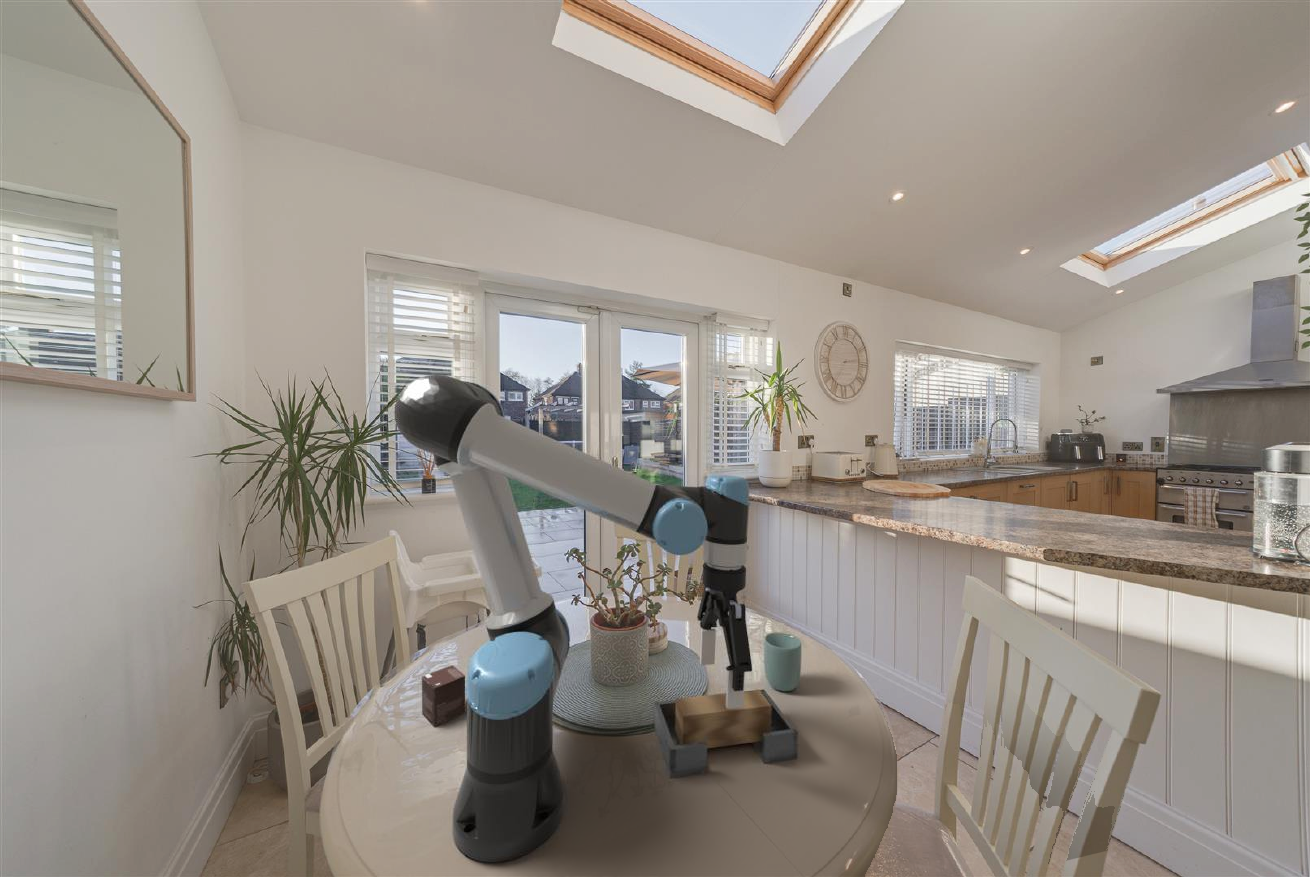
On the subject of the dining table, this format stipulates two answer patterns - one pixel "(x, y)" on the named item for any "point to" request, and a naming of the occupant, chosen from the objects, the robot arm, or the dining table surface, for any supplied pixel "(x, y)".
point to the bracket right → (777, 737)
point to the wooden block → (722, 720)
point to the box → (443, 695)
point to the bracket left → (677, 744)
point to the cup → (782, 660)
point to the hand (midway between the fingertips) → (719, 683)
